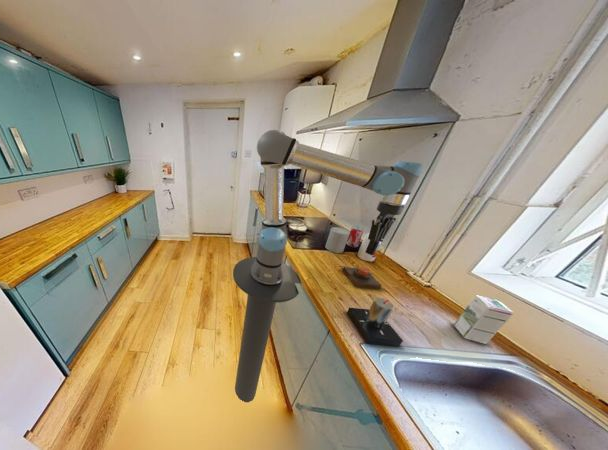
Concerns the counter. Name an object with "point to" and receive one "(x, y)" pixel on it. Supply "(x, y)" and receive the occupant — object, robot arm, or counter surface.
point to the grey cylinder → (337, 239)
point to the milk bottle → (362, 253)
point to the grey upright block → (379, 313)
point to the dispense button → (363, 271)
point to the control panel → (373, 329)
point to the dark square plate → (361, 278)
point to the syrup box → (482, 319)
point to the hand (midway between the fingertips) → (369, 253)
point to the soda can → (354, 236)
